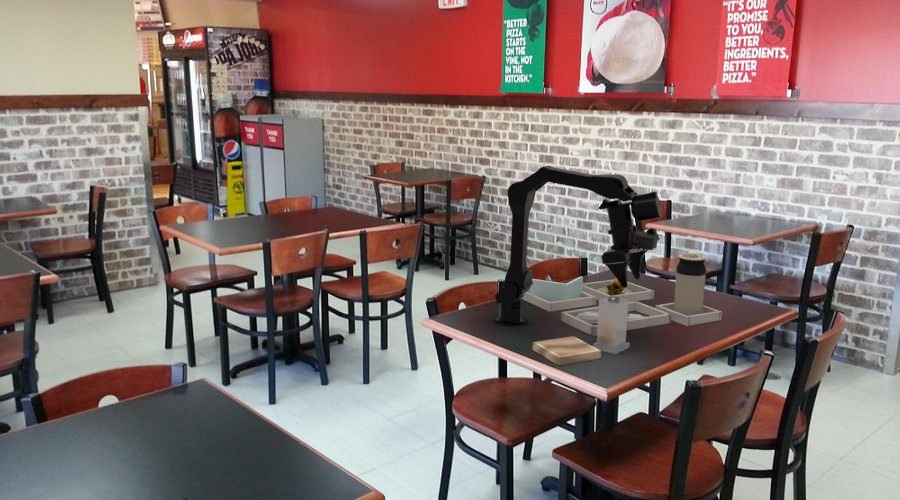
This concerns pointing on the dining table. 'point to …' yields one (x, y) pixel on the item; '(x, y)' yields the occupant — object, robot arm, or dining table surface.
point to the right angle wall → (557, 289)
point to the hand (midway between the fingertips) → (631, 283)
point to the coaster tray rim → (560, 302)
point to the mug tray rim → (705, 317)
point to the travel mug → (690, 284)
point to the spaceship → (593, 317)
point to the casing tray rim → (655, 319)
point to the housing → (612, 325)
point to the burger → (614, 289)
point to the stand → (566, 350)
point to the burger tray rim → (638, 294)
